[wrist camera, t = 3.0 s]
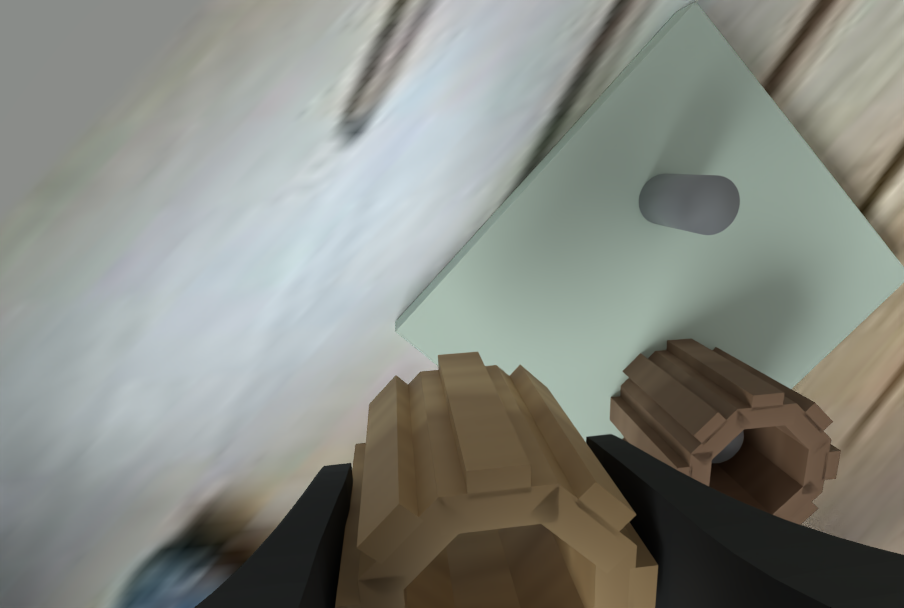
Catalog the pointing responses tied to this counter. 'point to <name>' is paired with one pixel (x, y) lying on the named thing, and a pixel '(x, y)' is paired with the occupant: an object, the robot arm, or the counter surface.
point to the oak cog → (485, 502)
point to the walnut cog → (727, 427)
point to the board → (662, 239)
